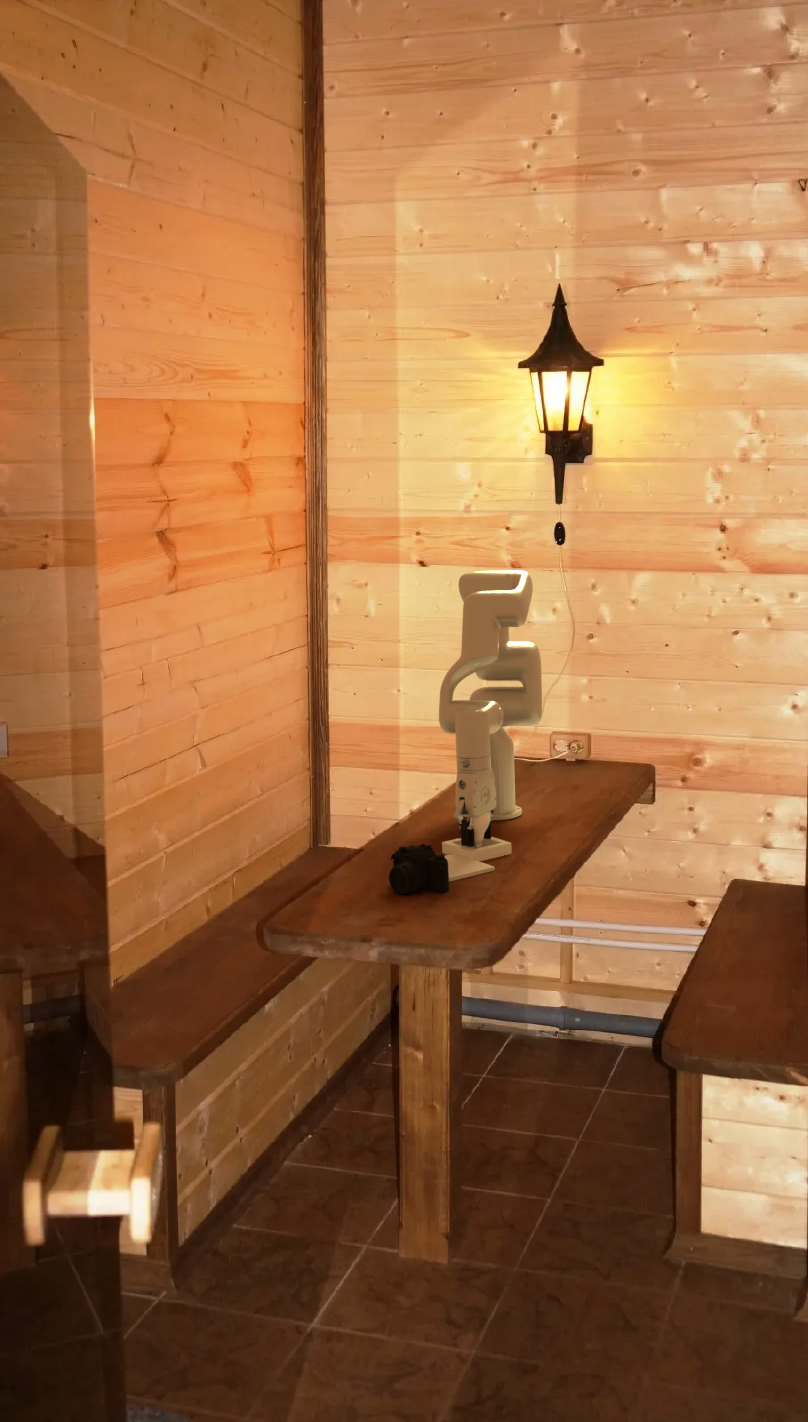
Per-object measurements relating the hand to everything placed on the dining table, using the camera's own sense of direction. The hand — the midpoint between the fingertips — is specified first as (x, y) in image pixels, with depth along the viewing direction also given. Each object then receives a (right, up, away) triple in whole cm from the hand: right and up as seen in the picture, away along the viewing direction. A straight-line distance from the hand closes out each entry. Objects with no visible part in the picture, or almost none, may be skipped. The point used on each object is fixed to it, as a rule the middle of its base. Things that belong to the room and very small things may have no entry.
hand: (476, 841), depth 326 cm
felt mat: (-6, -5, -11) cm, 14 cm away
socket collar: (0, -3, 0) cm, 3 cm away
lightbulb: (0, -3, +1) cm, 3 cm away
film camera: (-14, -8, -23) cm, 28 cm away
